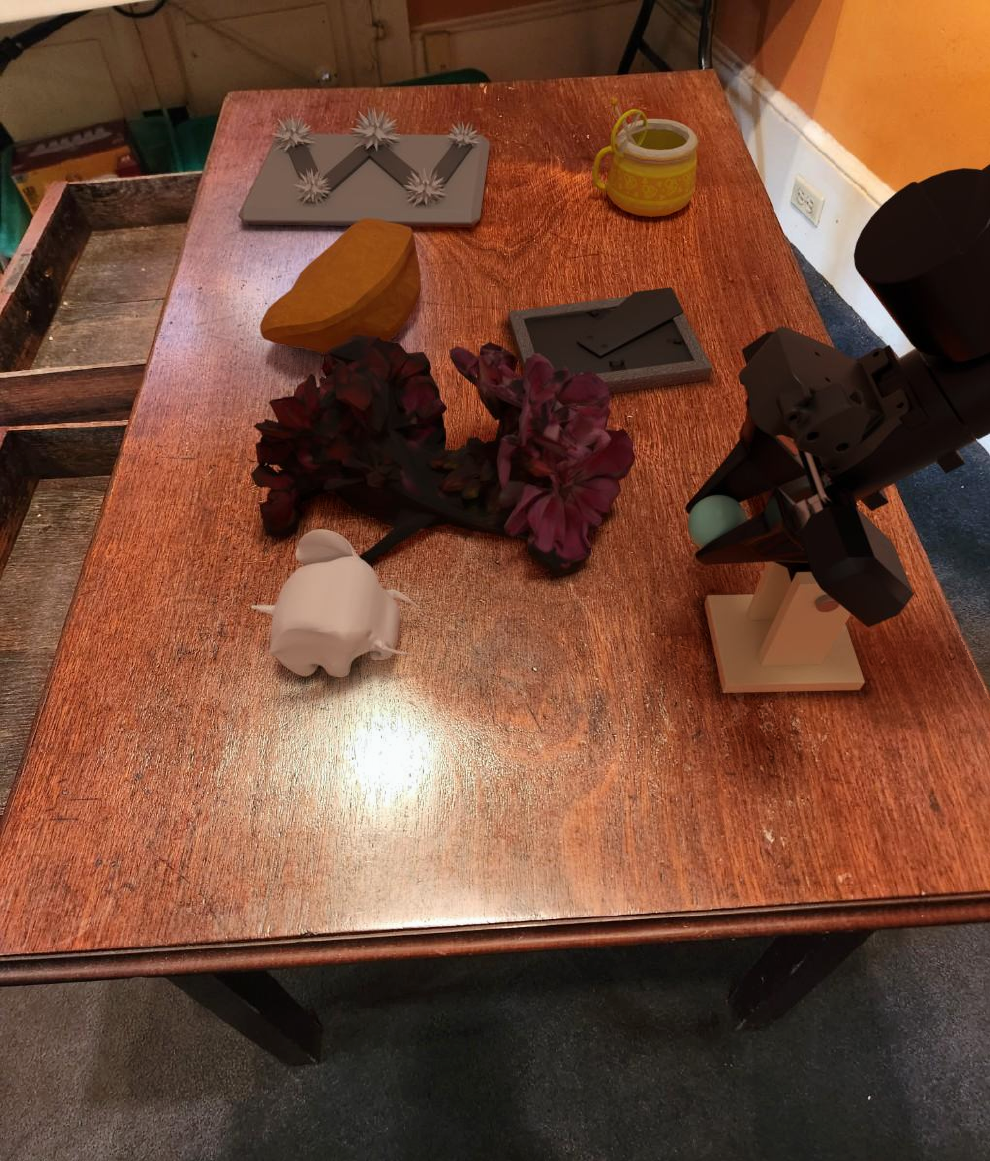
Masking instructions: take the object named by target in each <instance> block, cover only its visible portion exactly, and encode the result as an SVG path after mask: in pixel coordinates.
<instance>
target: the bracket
mask: <svg viewBox="0 0 990 1161" xmlns="http://www.w3.org/2000/svg"><path fill="white" fill-rule="evenodd" d="M762 571H763V572H762V573H761V576H760V578H759V581H758V583H757V586H756V588H755V590H754V593H753V594H752V593H751V594H750V593H749V594H747V593H745V594H708V595H706V598H705V600H704V609H705V614H706V618H707V619H706V620H707V623H708V624H707V625H708V628H709V633H710V638H711V642H712V647H713V653H714V657H715V662H716V667H717V671H718V677H719V682H720V687H721V691H722V693H723V694H728V693H733V694H734V693H776V692H777V693H778V692H779V693H780V692H781V693H782V692H823V691H824V692H826V691H828V692H829V691H830V692H831V691H859V690H861V688H862V687H863V686H864V684H865V682H866V680H865V678H864V675H863V672H862V669H861V666H860V663H859V660H858V657H857V654H856V651H855V648H854V645H853V641H852V639H851V636H850V633H849V629H848V627H847V624H846V623H847V622H848V620H849V618H850V616H851V615H852V614H851V613H850V612H848V611H847V610H846V609H845V608H843V607H842V606H841V605H840V604H839V603H837V602H836V601H835V600H834V599H832V598H831V597H830V596H829V595H828V594H826V593H825V592H824V591H823V590H821V588H820V587H819V585H818V584H817V582H816V580H815V579H814V577H813V576H812V573H811V572H797V573H796V575H795V577H794V579H793V581H792V583H791V579H790V576H789V573H788V569H787V568H786V567H784V566H781V565H779V564H777V563H775V562H765V566H764V568H763V570H762Z"/></svg>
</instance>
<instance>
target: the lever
mask: <svg viewBox="0 0 990 1161" xmlns="http://www.w3.org/2000/svg"><path fill="white" fill-rule="evenodd" d="M747 520H749V518H748V515H747V512H746V510H745V509H744V507H743V506H742V504H741V502H740V503H738V502H737V501H736V500H734V499H733V498H731V497H728V496H724V495H713V496H709V497H706V498H704V499H702V500H701V501H699V502H698V503H697V504H696V505H695V506H694V507H693V509H692V510H691V512H690V515H689V514H688V518H687V532H688V535H689V538H690V539H691V541H692V542H693V543H694V544H695V546H697V548H699V549H701V548H703V547H704V546H705V545H707V544H708V543H710V542H711V541H713V540H714V539H716V538H718V537H719V536H721V535H723V534H725V533H726V532H728V531H730V530H732V529H733V528H735V527H737V526H739V525H740V524H742V523H744V522H745V521H747ZM775 563H777V564H779V565H781V566H784V567H786V568H787V569H788V573H789V576H790V579H791V583H792V581H793V579H794V577H795V575H796V573H797V572H811V570H810V566H809V563H804V562H775Z"/></svg>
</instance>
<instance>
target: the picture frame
mask: <svg viewBox="0 0 990 1161" xmlns="http://www.w3.org/2000/svg"><path fill="white" fill-rule="evenodd" d="M507 324H508V328H509V330H510V335H511V337H512V341H513V343H514V347H515V350H516V353H517V356H518V361H519V362H520V367H521V370H522V372H523V371H524V366H525V362H526V358H529V357H532V355H531V354H537V353H539V354H541V355H542V356H543V357H545V358H546V359H548V360H549V361H550V363H551V364H552V366H553V368H554V370H555V371H559V370H561V369H562V368H564V367H565V366H567V368H568V371H569V373H570V375H571V376H573V373H574V374H575V375H576V374H579V373H583V372H587V371H591V372H593V373H594V374H596V375H597V376H598V377H599V378H601V379H602V380H603V381H604V383H605V385H606V387H607V389H608V391H609V394H610V395H611V394H612V395H613V394H619V393H626V392H635V391H641V390H650V389H656V388H663V387H670V386H677V385H685V384H691V383H698V382H699V383H700V382H707V381H710V380H711V375H712V372H713V366H712V363H711V362H710V360H709V358H708V356H707V354H706V352H705V351H704V349H703V347H702V345H701V343H700V341H699V339H698V338H697V336H696V334H695V332H694V330H693V328H692V326H691V325H690V323H689V321H688V319H687V317H686V315H685V314H684V309H683V307H682V305H681V302H680V301H679V299H678V297H677V295H676V293H675V291H674V288H673V287H663V288H662V287H661V288H654V289H646V290H639V291H634V292H633V293H631V294H630V295H627V296H619V297H611V298H602V299H595V300H587V301H586V300H585V301H579V302H572V303H563V304H555V305H548V306H540V307H532V308H525V309H524V308H523V309H519V310H518V309H515V310H510V311H507Z"/></svg>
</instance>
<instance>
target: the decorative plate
mask: <svg viewBox="0 0 990 1161" xmlns="http://www.w3.org/2000/svg"><path fill="white" fill-rule="evenodd" d="M389 112H390V110H387V112H386V114H384V113H385V109H381V112H380V114H379V116H377V113H376V107H375V106H373V108H371V111H370V108H369V107H367V113H368V114H366V116H364V115H363V114H362V112H360V111H358V113H359V118H360V119H361V120H360V119H359V118H355V117H353V119H354V120H355V121H356V122H357V124H358V125H357V124H355V126H356V128H355V127H354V128H353V127H349V129H350V130H352V131H351V134H349V133H346V134H345V133H314V132H313V131H312V130H313V129H314V128H311V127H312V126H313V125H309V126H307V127H306V125H307V123H304V120H305V117H303V118H302V116H300V117H297V118H296V120H295V121H294V116H293V115H291V118H290V115H289V114H286V113H284V116H285V121H286V122H285V121H284V120H282V121H283V122H282V121H281V120H280V119H279V118H277V120H278V122H279V124H280V125H281V126H279V125H276V124H275V123H272V124H273V126H274V127H275V128H276V132H277V133H276V132H275V133H274V132H270V135H271V137H272V138H274V139H270V141H272V143H271V146H270V148H269V150H268V153H267V155H266V156H265V158H264V161H263V163H262V165H261V166H260V169H259V171H258V172H257V175H256V177H255V178H254V181H253V183H252V184H251V187H250V189H249V191H248V193H247V195H246V198H245V200H244V202H243V203H242V206H241V208H240V210H239V212H238V214H237V217H238V218H239V219H241V220H242V221H243V222H245V223H246V224H247V225H258V226H259V225H262V226H265V225H266V226H267V225H268V226H270V225H271V226H278V225H279V226H341V227H342V226H343V227H345V226H348V227H350V226H352V225H353V224H355V223H357V222H358V221H360V220H362V219H364V218H371V219H379V220H383V221H386V222H390V223H395V224H401V225H404V226H407V227H425V228H427V227H429V228H430V227H431V228H432V227H434V228H435V227H436V228H473V227H474V226H475V225H476V224H477V223H478V222H479V221H480V220H481V215H482V209H483V208H482V207H483V200H484V193H485V185H486V178H487V172H488V163H489V157H490V148H491V142H490V141H489V140H488V139H487V138H486V137H485V136H484V135H483V134H477V133H478V129H476V130H474V131H472V130H473V124H474V123H472V124H471V125H470V123H468V124H467V126H466V127H464V126H465V125H464V121H463V120H462V121H461V123H460V122H458V125H457V126H458V128H457V127H456V126H455V124H453V123H452V124H451V125H452V126H451V128H452V129H451V128H450V127H448V129H449V130H450V132H451V133H450V132H449V133H448V134H399V133H395V132H394V131H395V130H397V129H398V128H399V127H395V126H396V125H398V122H397V123H395V122H396V121H397V120H398V119H397V118H396V119H395V120H394V119H393V120H392V121H389V120H390V118H391V116H389V117H388V115H389ZM301 119H302V120H301ZM303 123H304V124H303ZM311 131H312V132H311Z"/></svg>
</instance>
